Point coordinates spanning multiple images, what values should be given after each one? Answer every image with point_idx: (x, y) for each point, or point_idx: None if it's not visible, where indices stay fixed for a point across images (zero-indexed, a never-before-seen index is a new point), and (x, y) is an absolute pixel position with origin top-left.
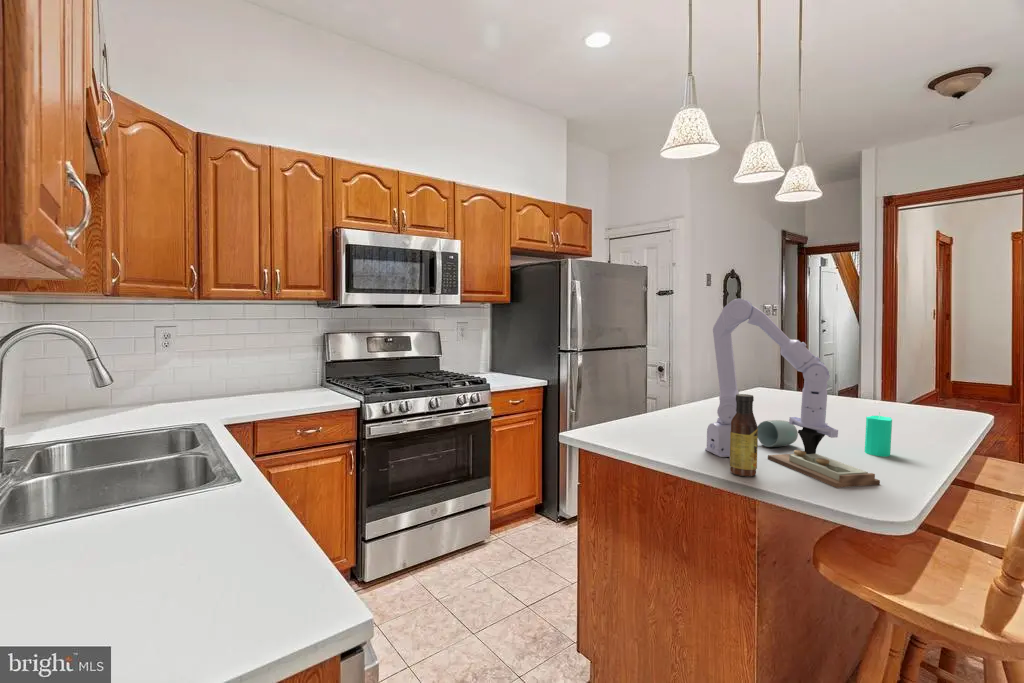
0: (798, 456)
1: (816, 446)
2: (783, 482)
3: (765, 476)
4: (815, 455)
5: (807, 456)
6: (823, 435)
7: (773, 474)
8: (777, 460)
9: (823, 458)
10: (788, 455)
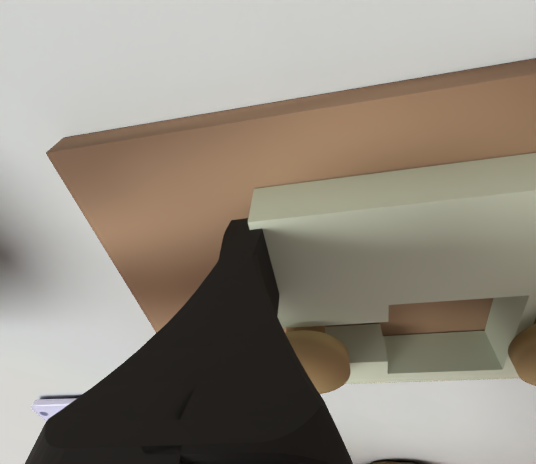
0: None
1: (263, 285)
2: (529, 438)
3: (442, 447)
4: (325, 261)
5: (345, 323)
6: (337, 430)
7: (429, 425)
8: None
9: (431, 254)
10: (168, 301)
